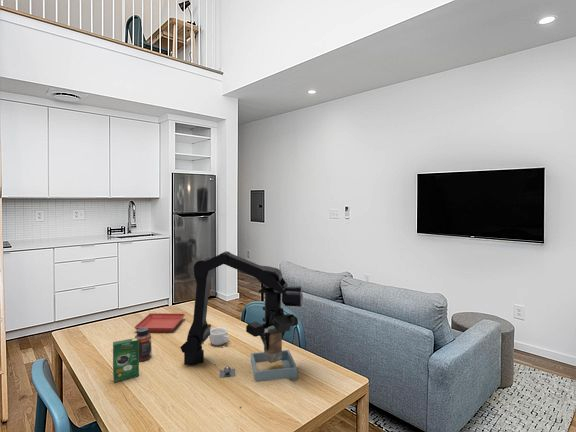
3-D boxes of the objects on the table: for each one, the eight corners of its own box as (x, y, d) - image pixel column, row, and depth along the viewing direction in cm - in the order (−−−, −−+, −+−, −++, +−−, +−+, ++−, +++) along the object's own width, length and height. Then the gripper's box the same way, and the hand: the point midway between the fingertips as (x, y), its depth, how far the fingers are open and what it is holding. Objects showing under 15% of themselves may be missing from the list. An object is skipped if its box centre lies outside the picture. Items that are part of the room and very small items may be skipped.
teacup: (205, 344, 150) (204, 331, 150) (218, 338, 157) (218, 325, 156) (221, 350, 144) (221, 337, 144) (235, 343, 151) (235, 331, 150)
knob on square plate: (219, 380, 121) (219, 371, 121) (219, 372, 127) (219, 363, 126) (235, 379, 122) (235, 369, 122) (234, 371, 128) (234, 362, 127)
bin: (255, 384, 119) (255, 372, 119) (250, 363, 133) (250, 353, 133) (297, 379, 122) (297, 368, 122) (288, 359, 136) (288, 349, 136)
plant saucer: (173, 334, 161) (173, 327, 161) (133, 334, 162) (133, 327, 161) (185, 319, 179) (185, 313, 179) (149, 319, 180) (149, 313, 179)
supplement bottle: (155, 356, 139) (154, 327, 138) (143, 363, 134) (142, 333, 133) (143, 353, 142) (143, 325, 141) (131, 359, 136) (130, 330, 135)
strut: (271, 363, 124) (271, 335, 124) (264, 358, 128) (264, 330, 127) (281, 359, 127) (281, 332, 126) (274, 354, 131) (274, 328, 130)
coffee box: (138, 372, 127) (137, 336, 126) (140, 376, 124) (138, 339, 124) (113, 379, 122) (111, 341, 122) (114, 382, 120) (113, 344, 119)
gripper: (262, 316, 114) (262, 364, 115) (308, 305, 125) (307, 349, 126) (245, 307, 123) (245, 351, 124) (288, 298, 134) (288, 338, 135)
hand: (272, 348), depth 127 cm, fingers closed on strut, 4 cm apart
